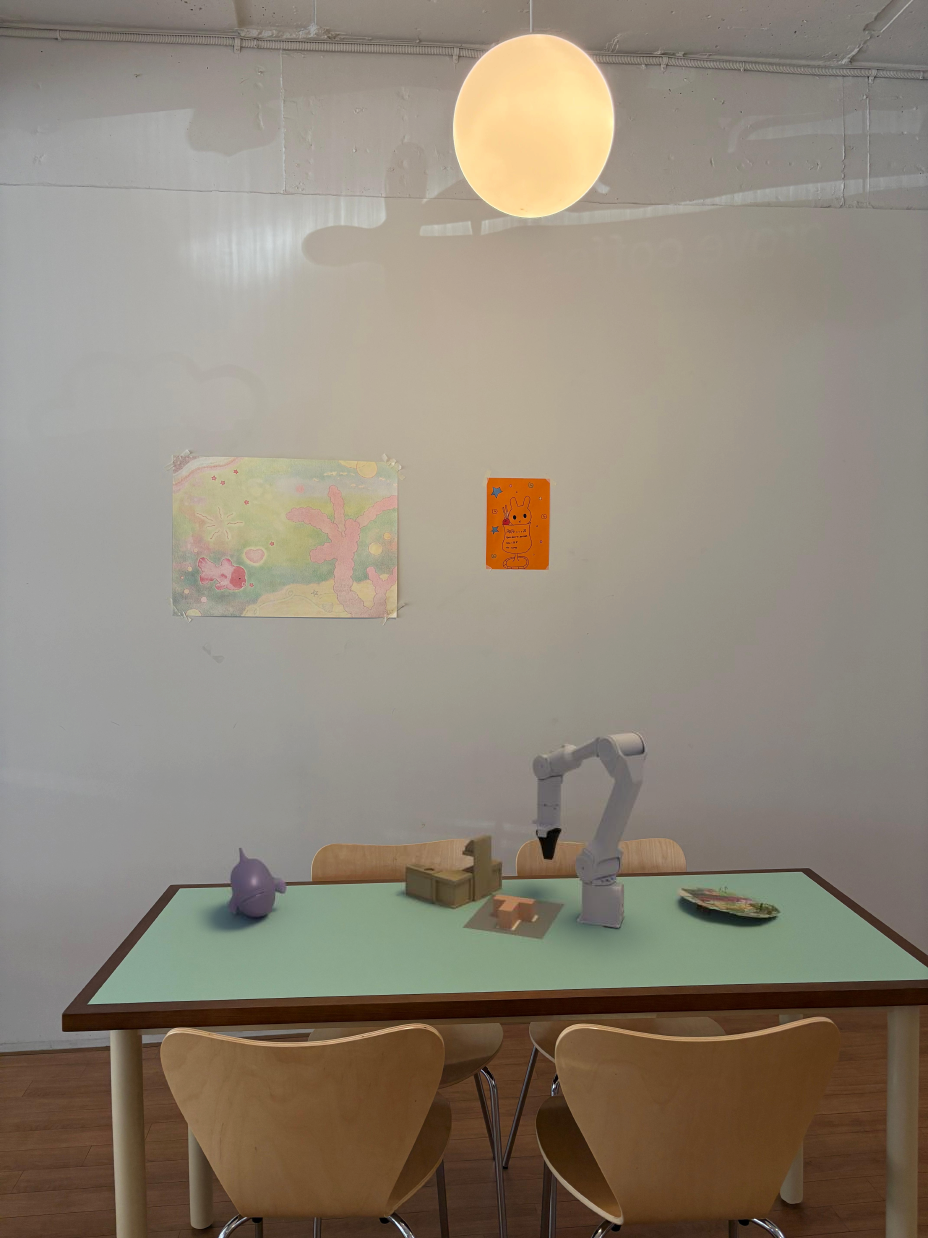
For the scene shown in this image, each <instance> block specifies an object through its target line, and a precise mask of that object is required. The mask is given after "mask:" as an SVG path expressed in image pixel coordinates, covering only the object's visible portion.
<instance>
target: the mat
mask: <svg viewBox="0 0 928 1238" xmlns="http://www.w3.org/2000/svg"><path fill="white" fill-rule="evenodd" d="M496 895H497V894H493V893H492V895H490V896H489V898H487V900H486V901H485V902H484V903H483V904H482V905H481V906H480V907H479V909H477V910H476V912H475V913H474V914H473V915H472V916H471V918H470V919H469V920H468V921H467V922H466V923H465V924H464V925H463V926H462V928H465V929H470V930H477V931H485V932H490V933H499V934H505V935H514V936H519V937H526V938H531V939H532V938H533V939H538V940H539V939H540V940H542V939H544V937H545V936H546V934H547V933H548V931H549V929H550V927H551V926H552V924H553V923H554V921H555V920H556V919H557V917H558V915H559V914H560V912H561V910H562V909H563V907H564V906H565V903H560V902H552V901H544V900H537V899H535V917H534V919H533V920H532V921H525V920H518V921H517V923H516V924H515V925H514V927H513V928H512V929H505V928H498V917H496V916H493V903H494V898H495V897H496Z"/></svg>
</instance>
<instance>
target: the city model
mask: <svg viewBox="0 0 928 1238" xmlns="http://www.w3.org/2000/svg"><path fill="white" fill-rule="evenodd" d="M726 889H728V887H727V885H726V886H724V890H725V891H723V890H722V887H720V888H719V889H715V888H707V887H697V886H689V885H688V886H687V885H686V886H682V887H680V888H678V891H677V892H676V893H677V894H678V895H680V896H681V897H683V898H684V899H686V900H689V901H690V902H693V903H695V904H696V911H697V912H698V911H699V912H700V911H701V913H700V914H701V915H708V914H710V910H711V909H714V910H718V911H722V912H725V913H726V912H727V913H730V914H735V915H737V916H740V917H741V916H742V917H751V918H769V917H771V918H773V917H776V916H779V914H780V912H781V911H780V909H778V907H776V906H774V905H773V904H768V903H763V902H760V903H759V902H756V901H754V900H752V899H751V898H748V897H745V896H742V895H740V894H736V893H733V892H731V891H726Z"/></svg>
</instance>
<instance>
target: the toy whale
mask: <svg viewBox="0 0 928 1238" xmlns="http://www.w3.org/2000/svg"><path fill="white" fill-rule="evenodd" d="M238 850H239V861H238V863H237V864H236V865H235V866H234V867H233V868H232V869H231V872H230V877H229V878H230V879H229V882H230V888H231V894H232V895H231V897H230V899H229V901H228V909H229V911H230V912H231V913H232V915H234V916H236V915H238V914H239V910H240V911H241V912H242V913H243V914H245V915H246V916H248V917H250V918H260V917H264V916H265V915H267V914H269V912H270V911H271V910H272V909H273V907H274V905H275V901H276V893H279V894H281V895H282V894H286V891H287V884H286V882H285V881H284V880H283V879H281V878H279V877H274V876H273V875H272V874H271V871H270V870H269V869H268V867H267V866H266V864H265V863H264V862H262V861H261V859H257V858H248V857H247V856H246V855H245V853H244V851H243V848H242V847H239V848H238Z"/></svg>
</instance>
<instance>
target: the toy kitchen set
mask: <svg viewBox="0 0 928 1238" xmlns="http://www.w3.org/2000/svg"><path fill="white" fill-rule="evenodd" d="M492 846H493V845H492V835H491V834H489V835H488V834H483V835H480V836H477V837H475V838H472V839H470V840H469V842H467V844H466V845H464V850H462V853H461V854H462V855H463V856H465V857H472V858H473V859H472V861H473V862H472V863H473V865H471V866H468V867H465V868H462V869H461V870H460V869H458V870H457V869H456V870H455V869H453V870H452V869H451V870H443V869H440V868H436V867H432V866H430V865H426V864H422V863H419V862H413V863H409V864H407V865H405V883H404V885H405V887H404V888H405V895H406V896H409V897H413V898H416V899H419V900H420V901H421V900H422V901H425V902H428V903H432V904H433V905H435V904H437V905H440V906H444V907H446V908H450V909H453V910H457V909H458V908H460V907H463V906H465V905H467V904H470V903H473V902H475V903H476V902H478V901H480V900H483V899H486V898H487V897H491V895H492V894H493V893H496V892H499V891H500V890H502V889H503V861H501V860H497V859H494V858H492V856H493V855H492V853H493V852H492V851H493V850H492Z"/></svg>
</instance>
